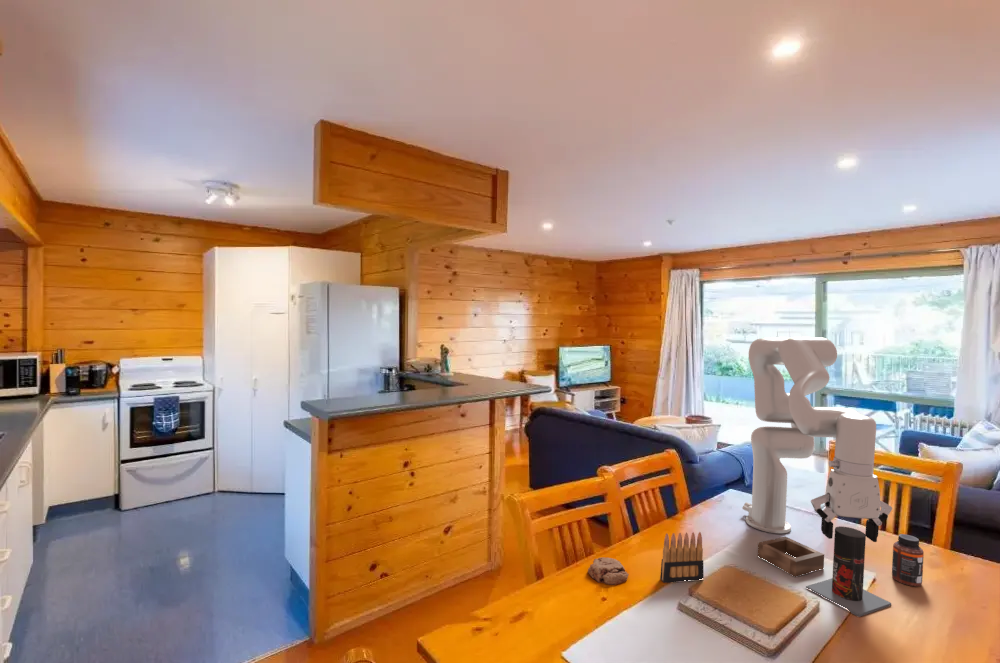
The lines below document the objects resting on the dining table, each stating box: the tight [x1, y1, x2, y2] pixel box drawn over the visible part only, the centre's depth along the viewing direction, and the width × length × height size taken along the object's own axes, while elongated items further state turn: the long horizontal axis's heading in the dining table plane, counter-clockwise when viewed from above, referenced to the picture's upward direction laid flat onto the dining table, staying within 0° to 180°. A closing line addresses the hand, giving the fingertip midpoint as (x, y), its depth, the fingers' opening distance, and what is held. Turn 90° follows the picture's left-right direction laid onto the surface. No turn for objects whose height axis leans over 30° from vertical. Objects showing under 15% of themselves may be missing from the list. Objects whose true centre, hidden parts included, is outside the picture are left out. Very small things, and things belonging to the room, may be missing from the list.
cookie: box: [587, 557, 629, 586], centre depth 123 cm, size 10×11×3 cm
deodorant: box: [831, 525, 867, 601], centre depth 115 cm, size 6×6×15 cm
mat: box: [805, 578, 892, 618], centre depth 115 cm, size 12×12×1 cm
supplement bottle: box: [891, 533, 925, 587], centre depth 122 cm, size 6×6×11 cm
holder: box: [756, 536, 825, 578], centre depth 130 cm, size 11×11×4 cm
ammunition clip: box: [659, 531, 705, 584], centre depth 120 cm, size 11×2×12 cm, turn 98°
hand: (848, 537), depth 115 cm, fingers open, 9 cm apart
